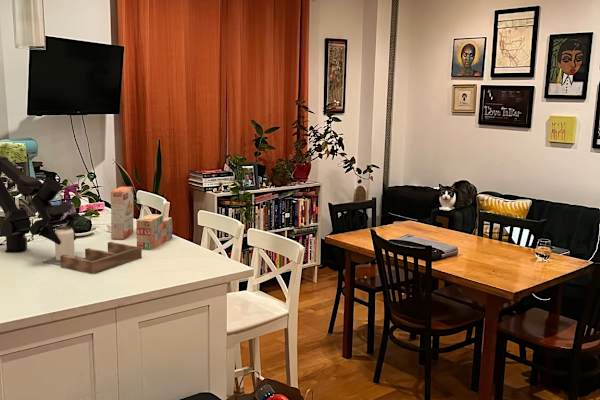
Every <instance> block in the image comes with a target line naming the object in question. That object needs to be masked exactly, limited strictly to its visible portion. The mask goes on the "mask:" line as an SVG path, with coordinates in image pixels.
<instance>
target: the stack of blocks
mask: <svg viewBox="0 0 600 400" xmlns="http://www.w3.org/2000/svg"><path fill="white" fill-rule="evenodd" d="M135 231H136V247H142V251H143V250H145V251H153V250H154V249H157V247H160V246H161V245H162V244H165V243H166V242H168V241H170V240H171V239H173V218H172V217H170V216H169V217H167V216H166V217H165V216H164V214H156V213H155V214H154V213H149V214H146V215H145V216H142V217H140V218H137V219H136V230H135Z"/></svg>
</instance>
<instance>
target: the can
mask: <svg viewBox="0 0 600 400" xmlns="http://www.w3.org/2000/svg"><path fill="white" fill-rule="evenodd" d="M54 232H55V233H56V235H57V237H58V238H59V240H60V242H61V244H59V245H58V244H57V243H55V242H54V247H55V258H56V260H57V261H60V256H62V255H65V256H70V257H75V256H76V255H75V241H74V232H75V230H74V231H73V229H72V227H71V226H63V225H59V226H55V230H54Z"/></svg>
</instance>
